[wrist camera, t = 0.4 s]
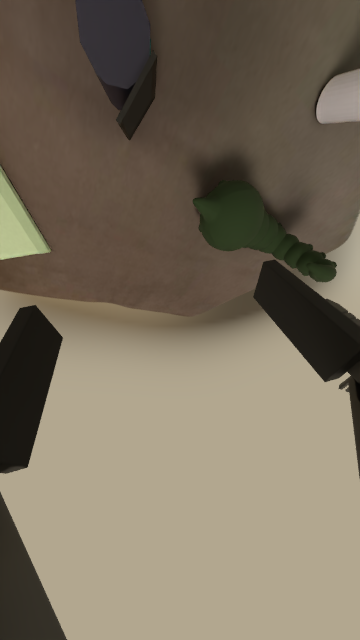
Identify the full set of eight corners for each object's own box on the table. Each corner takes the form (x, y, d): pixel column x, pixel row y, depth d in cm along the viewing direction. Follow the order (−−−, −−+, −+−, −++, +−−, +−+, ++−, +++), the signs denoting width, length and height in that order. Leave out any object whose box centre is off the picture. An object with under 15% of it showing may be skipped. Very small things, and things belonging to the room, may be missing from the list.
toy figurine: (285, 215, 39) (187, 148, 26) (376, 257, 26) (273, 170, 14) (256, 256, 44) (163, 217, 31) (320, 307, 32) (209, 276, 19)
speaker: (166, 115, 24) (177, 91, 16) (128, 141, 25) (121, 131, 17) (131, 14, 19) (122, -92, 11) (86, 52, 20) (48, -20, 12)
